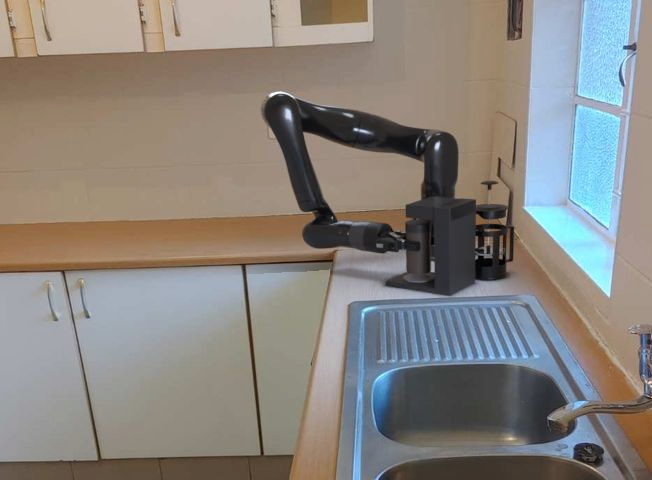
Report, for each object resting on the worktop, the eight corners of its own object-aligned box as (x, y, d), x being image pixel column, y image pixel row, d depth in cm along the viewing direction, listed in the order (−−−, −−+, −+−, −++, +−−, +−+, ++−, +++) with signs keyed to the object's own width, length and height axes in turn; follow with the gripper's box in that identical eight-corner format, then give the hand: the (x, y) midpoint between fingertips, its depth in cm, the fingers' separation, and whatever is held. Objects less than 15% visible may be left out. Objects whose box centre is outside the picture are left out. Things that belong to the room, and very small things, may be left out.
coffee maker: (385, 285, 184) (382, 203, 176) (412, 273, 193) (411, 194, 185) (449, 295, 173) (449, 208, 166) (475, 282, 182) (476, 199, 174)
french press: (475, 282, 182) (476, 186, 173) (460, 273, 190) (460, 180, 181) (520, 276, 184) (523, 181, 175) (503, 267, 193) (505, 176, 184)
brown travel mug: (410, 266, 187) (410, 218, 183) (434, 268, 185) (434, 219, 180) (402, 273, 182) (401, 224, 178) (427, 275, 180) (426, 225, 175)
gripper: (352, 227, 183) (410, 234, 173) (386, 216, 193) (443, 222, 183) (353, 257, 186) (410, 266, 176) (387, 245, 196) (442, 252, 186)
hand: (426, 243), depth 179 cm, fingers closed on brown travel mug, 6 cm apart
